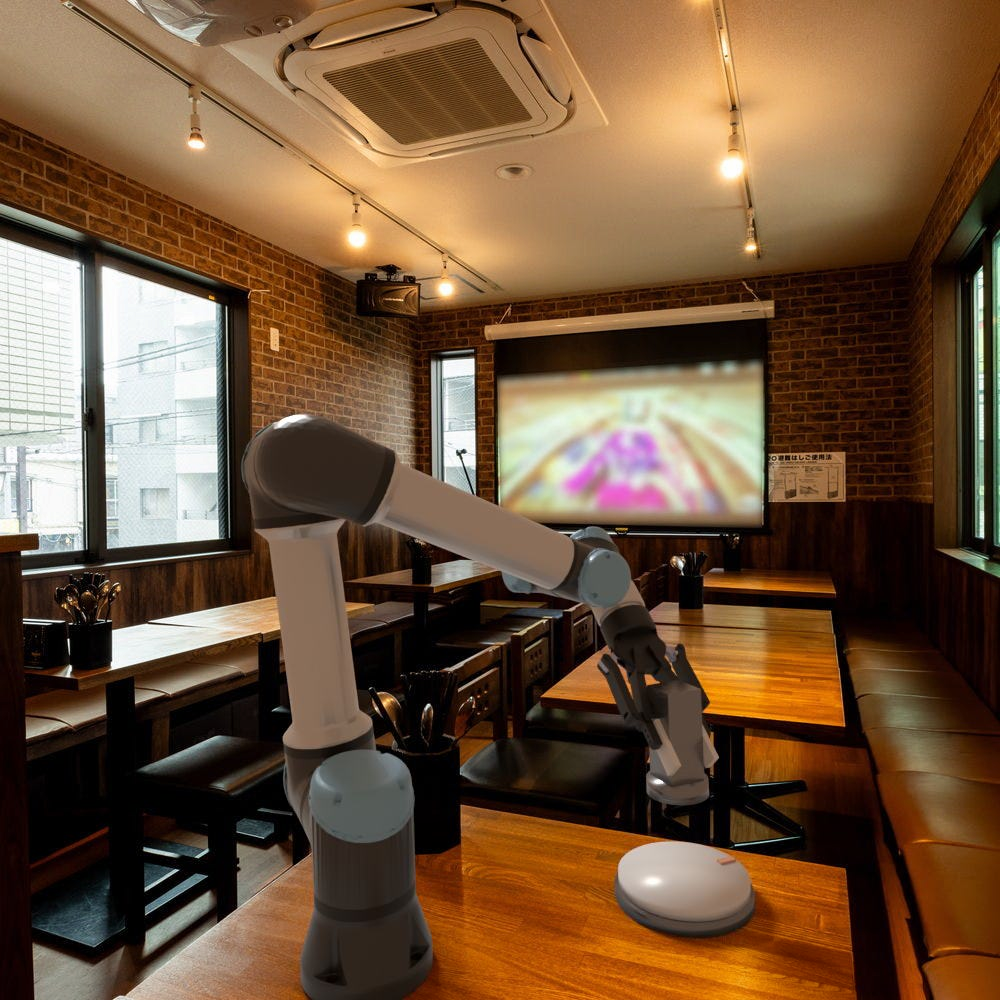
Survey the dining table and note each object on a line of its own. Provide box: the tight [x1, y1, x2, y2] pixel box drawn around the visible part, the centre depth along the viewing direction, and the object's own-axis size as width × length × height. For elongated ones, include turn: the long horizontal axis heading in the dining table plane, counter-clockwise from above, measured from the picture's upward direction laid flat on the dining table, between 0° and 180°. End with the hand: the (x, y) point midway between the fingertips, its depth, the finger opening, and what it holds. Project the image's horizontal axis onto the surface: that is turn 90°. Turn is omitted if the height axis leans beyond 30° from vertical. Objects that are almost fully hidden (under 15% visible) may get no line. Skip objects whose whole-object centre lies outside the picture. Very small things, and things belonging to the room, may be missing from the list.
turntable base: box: [614, 871, 756, 939], centre depth 99 cm, size 18×18×2 cm
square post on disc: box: [645, 680, 710, 806], centre depth 98 cm, size 8×8×14 cm
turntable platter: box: [617, 841, 751, 922], centre depth 99 cm, size 17×17×2 cm
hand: (693, 766), depth 95 cm, fingers closed on square post on disc, 5 cm apart
